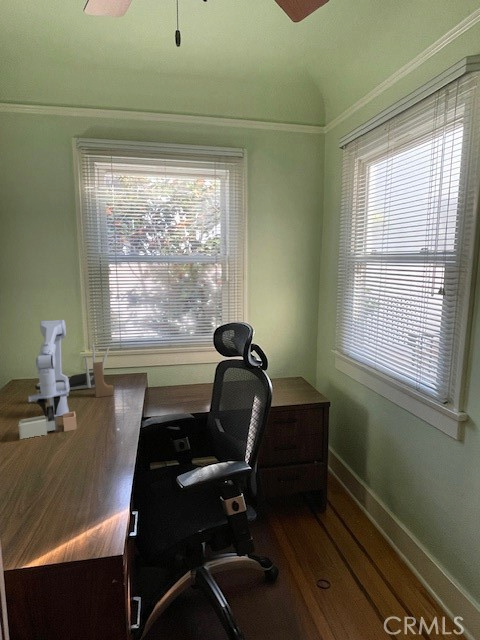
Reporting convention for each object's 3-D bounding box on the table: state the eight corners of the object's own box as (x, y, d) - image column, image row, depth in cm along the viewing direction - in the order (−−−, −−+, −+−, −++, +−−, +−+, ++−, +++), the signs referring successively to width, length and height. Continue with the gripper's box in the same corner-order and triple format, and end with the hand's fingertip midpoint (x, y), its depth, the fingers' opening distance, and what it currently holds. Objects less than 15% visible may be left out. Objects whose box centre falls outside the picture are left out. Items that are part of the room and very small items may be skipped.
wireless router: (73, 376, 225) (70, 345, 222) (112, 373, 231) (110, 343, 228) (62, 394, 193) (59, 358, 190) (107, 390, 199) (105, 355, 196)
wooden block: (113, 392, 195) (111, 360, 193) (113, 395, 191) (111, 362, 188) (95, 394, 192) (93, 362, 189) (95, 397, 188) (93, 364, 185)
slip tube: (24, 431, 147) (22, 409, 146) (57, 425, 153) (55, 404, 151) (24, 436, 144) (21, 413, 142) (57, 429, 149) (55, 407, 148)
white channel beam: (21, 434, 148) (19, 419, 147) (47, 429, 152) (45, 415, 151) (20, 440, 142) (18, 425, 141) (47, 435, 147) (45, 420, 146)
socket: (63, 425, 155) (62, 413, 154) (75, 423, 157) (74, 411, 156) (64, 431, 150) (63, 418, 149) (76, 429, 152) (75, 416, 151)
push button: (32, 405, 179) (30, 385, 177) (35, 401, 184) (33, 382, 182) (47, 403, 181) (45, 384, 179) (49, 399, 186) (47, 381, 184)
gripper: (26, 389, 140) (30, 422, 142) (67, 383, 147) (70, 414, 149) (27, 384, 147) (31, 415, 149) (67, 378, 153) (69, 408, 155)
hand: (50, 414), depth 149 cm, fingers open, 3 cm apart
